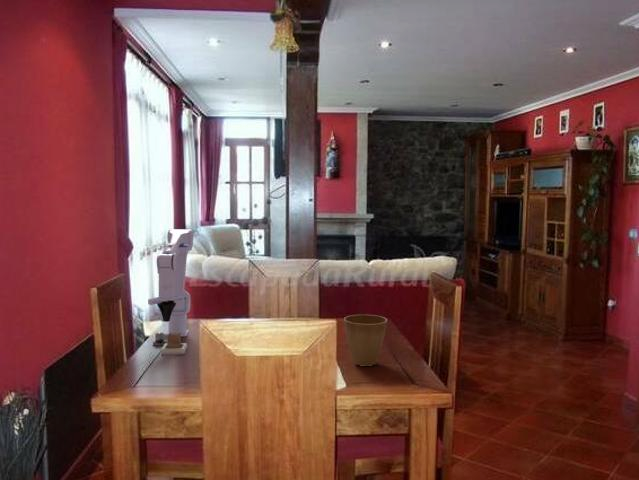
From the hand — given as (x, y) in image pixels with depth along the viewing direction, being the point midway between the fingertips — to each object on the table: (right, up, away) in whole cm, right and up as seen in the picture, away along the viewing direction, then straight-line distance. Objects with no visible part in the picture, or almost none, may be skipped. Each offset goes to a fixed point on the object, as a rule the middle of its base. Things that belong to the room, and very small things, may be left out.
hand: (166, 321), depth 199 cm
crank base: (-1, -10, +5) cm, 11 cm away
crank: (-1, -8, +4) cm, 9 cm away
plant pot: (+74, -13, -15) cm, 76 cm away
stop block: (+4, -10, -5) cm, 12 cm away
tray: (+4, -10, -5) cm, 12 cm away
